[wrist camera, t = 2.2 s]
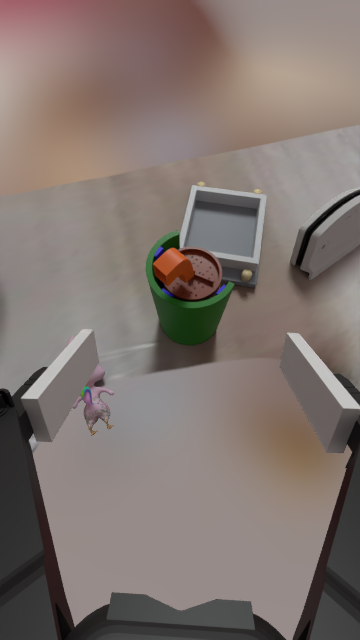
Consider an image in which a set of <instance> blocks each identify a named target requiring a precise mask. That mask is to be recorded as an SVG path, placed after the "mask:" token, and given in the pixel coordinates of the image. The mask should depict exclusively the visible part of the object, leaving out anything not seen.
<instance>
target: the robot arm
mask: <svg viewBox="0 0 360 640" xmlns="http://www.w3.org/2000/svg"><path fill="white" fill-rule="evenodd" d="M98 364H99V359H98V353H97V347H96V342H95V336H94V331H93V329H82V330H81V331H80V333H79V334H78V335H77V336H76V337H75V338H74V339H73V340H72V341H71V343H70V344H69V345H68V346H67V347H66V348H65V349H64V350H63V352H62V353H61V354H60V355H59V356H58V357H57V358H56V359H55V360H54V362H53V363H52V364H51V365H50V366H49V367H43V368H41V369H39V370H38V371H36V372H35V373H34V374H33V375H32V376H31V377H30V378H29V380H27V381H26V382H25V383H24V385H22V386H21V387H20V388H19V389H18V390H17V392H16V393H15V394H14V395H13V396H12V397H11V395H10V392H9V391H8V390H7V389H0V640H286V639H285V638H284V637H283V636H282V635H281V634H280V633H279V632H278V631H277V630H276V629H275V628H274V627H273V626H271V625H270V624H269V623H268V622H267V621H265V620H263V619H262V618H260V617H259V616H257V615H255V614H253V612H252V605H251V602H250V601H235V600H220V599H216V600H213V601H210V602H207V603H204V604H201V605H198V606H195V607H192V608H189V609H186V610H182V611H179V610H176V609H174V608H172V607H170V606H168V605H166V604H164V603H162V602H160V601H157V600H155V599H153V598H151V597H149V596H147V595H143V594H128V593H113V592H112V594H111V599H110V604H108V605H105V606H103V607H101V608H99V609H97V610H95V611H94V612H92V613H91V614H89V615H88V616H87V617H85V618H84V619H83V620H82V621H81V622H80V623H79V624H78V625H77V626H76V627H74V623H73V620H72V616H71V612H70V609H69V606H68V603H67V599H66V596H65V592H64V588H63V583H62V580H61V575H60V571H59V567H58V562H57V558H56V553H55V549H54V545H53V540H52V536H51V532H50V527H49V523H48V519H47V515H46V510H45V506H44V502H43V498H42V493H41V489H40V484H39V480H38V476H37V472H36V467H35V463H34V459H33V454H32V450H31V446H30V443H29V439H30V437H31V436H32V434H33V433H34V435H35V438H36V441H41V442H52V441H53V439H54V438H55V436H56V434H57V433H58V431H59V429H60V427H61V426H62V424H63V422H64V421H65V419H66V417H67V416H68V414H69V412H70V411H71V409H72V407H73V406H74V404H75V402H76V401H77V399H78V397H79V396H80V394H81V392H82V391H83V389H84V387H85V386H86V384H87V382H88V380H89V379H90V377H91V375H92V374H93V372H94V370H95V369H96V367H97V365H98ZM280 368H281V370H282V372H283V374H284V376H285V378H286V379H287V381H288V383H289V385H290V387H291V388H292V390H293V392H294V394H295V396H296V398H297V399H298V401H299V403H300V405H301V407H302V409H303V411H304V412H305V414H306V416H307V418H308V420H309V421H310V423H311V425H312V427H313V429H314V431H315V432H316V434H317V436H318V438H319V440H320V442H321V443H322V445H323V447H324V449H325V451H326V452H327V453H344V450H345V448H346V445H347V444H348V446H349V447H350V449H351V451H352V454H351V457H350V459H349V461H348V463H347V465H346V468H347V469H346V472H345V476H344V479H343V482H342V486H341V489H340V492H339V496H338V498H337V502H336V505H335V508H334V511H333V515H332V518H331V521H330V525H329V528H328V531H327V534H326V538H325V541H324V544H323V547H322V551H321V554H320V557H319V561H318V564H317V567H316V570H315V574H314V577H313V580H312V583H311V587H310V590H309V593H308V596H307V600H306V603H305V606H304V610H303V612H302V615H301V618H300V621H299V623H298V626H297V628H296V631H295V634H294V637H293V640H360V392H359V391H358V390H357V388H355V386H354V385H353V384H352V383H351V382H350V381H349V380H348V379H347V378H345V377H344V376H342V375H341V374H332V372H331V371H330V370H329V369H328V368H327V366H326V365H325V364H324V363H323V362H322V361H321V359H320V358H319V357H318V356H317V355H316V353H315V352H314V351H313V350H312V349H311V347H310V346H309V345H308V344H307V343H306V341H305V340H304V339H303V338H302V337H301V336H300V334H299V333H287V334H286V339H285V344H284V348H283V353H282V358H281V363H280Z"/></svg>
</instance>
